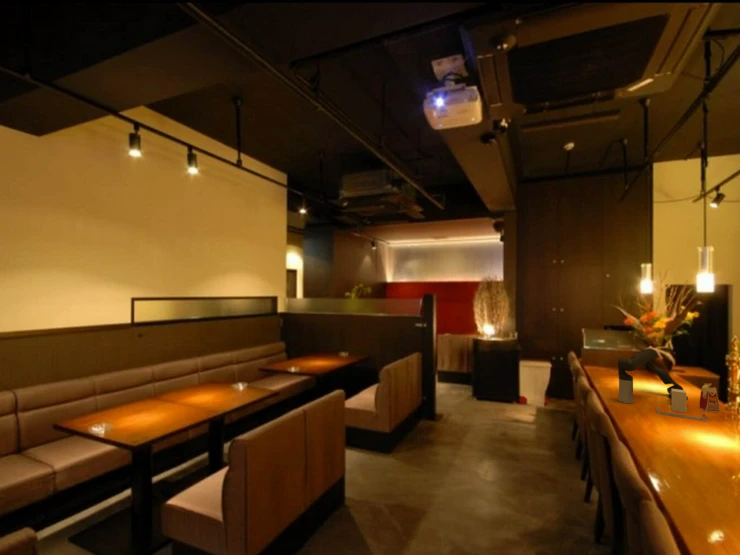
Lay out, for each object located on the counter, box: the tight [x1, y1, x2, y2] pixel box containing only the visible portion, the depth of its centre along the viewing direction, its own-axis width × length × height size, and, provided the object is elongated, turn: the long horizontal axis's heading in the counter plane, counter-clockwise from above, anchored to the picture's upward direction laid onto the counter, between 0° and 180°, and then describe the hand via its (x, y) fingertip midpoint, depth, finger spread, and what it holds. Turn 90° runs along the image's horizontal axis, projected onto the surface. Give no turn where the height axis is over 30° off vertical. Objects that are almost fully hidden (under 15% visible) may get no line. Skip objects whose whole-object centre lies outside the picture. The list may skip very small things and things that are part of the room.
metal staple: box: [655, 406, 708, 422], centre depth 270 cm, size 27×14×2 cm, turn 55°
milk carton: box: [698, 382, 722, 414], centre depth 281 cm, size 9×9×20 cm
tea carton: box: [671, 389, 688, 413], centre depth 281 cm, size 8×8×14 cm
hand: (678, 399), depth 285 cm, fingers closed
